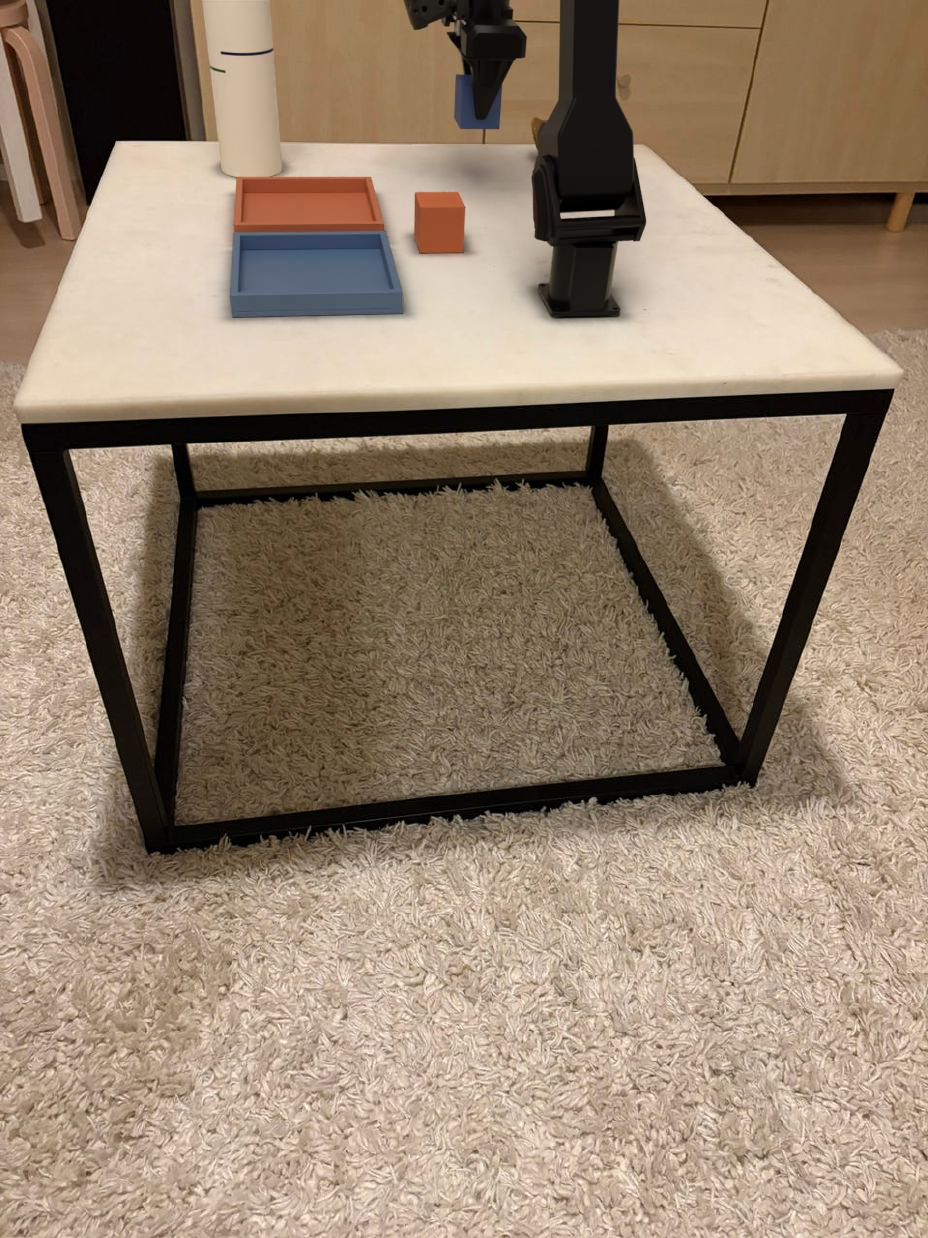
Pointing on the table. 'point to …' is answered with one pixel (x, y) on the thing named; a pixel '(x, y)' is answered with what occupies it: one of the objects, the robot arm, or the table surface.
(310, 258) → the blue tray
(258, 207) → the clay tray
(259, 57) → the cylindrical container
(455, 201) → the clay block
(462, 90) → the blue block
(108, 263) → the table surface
